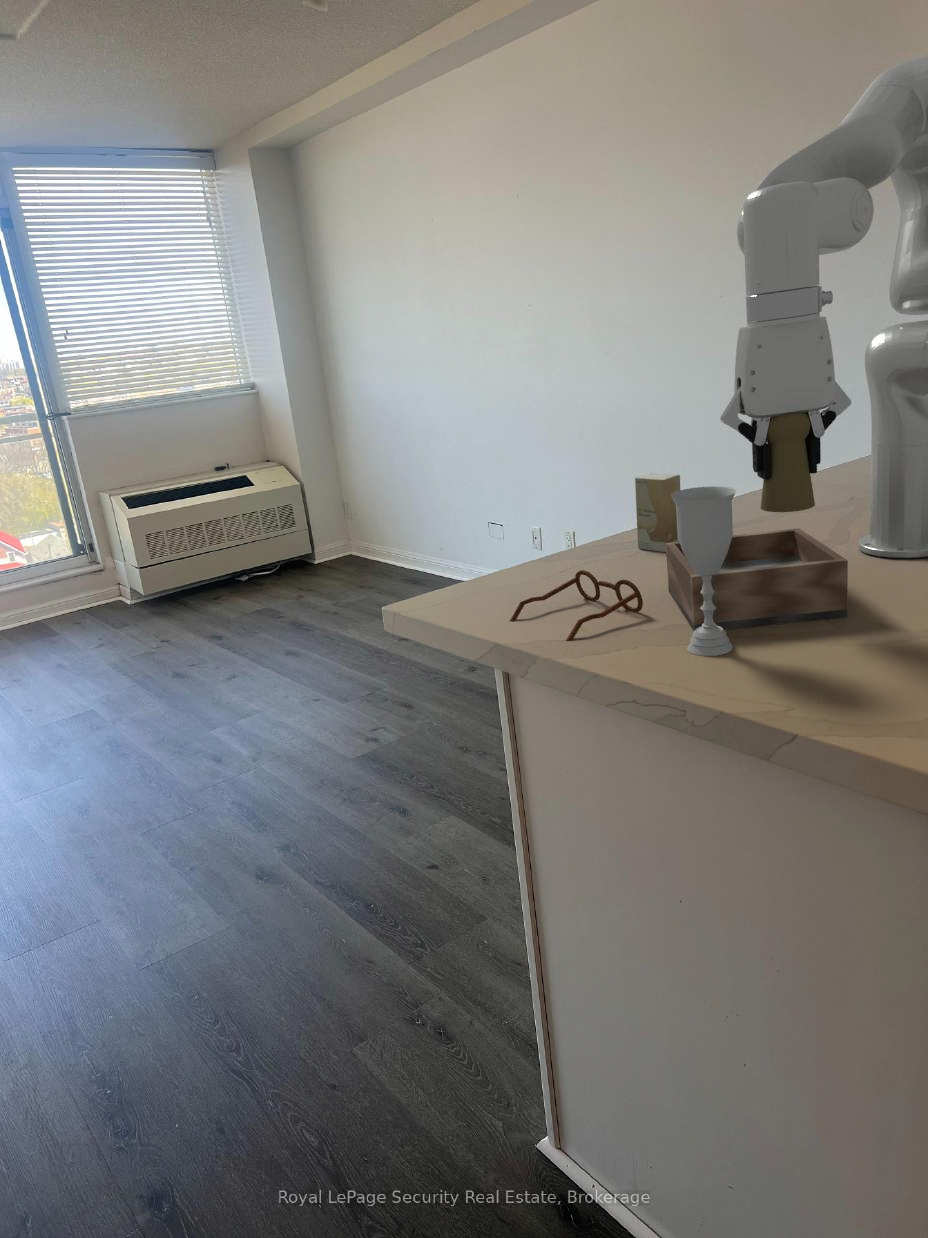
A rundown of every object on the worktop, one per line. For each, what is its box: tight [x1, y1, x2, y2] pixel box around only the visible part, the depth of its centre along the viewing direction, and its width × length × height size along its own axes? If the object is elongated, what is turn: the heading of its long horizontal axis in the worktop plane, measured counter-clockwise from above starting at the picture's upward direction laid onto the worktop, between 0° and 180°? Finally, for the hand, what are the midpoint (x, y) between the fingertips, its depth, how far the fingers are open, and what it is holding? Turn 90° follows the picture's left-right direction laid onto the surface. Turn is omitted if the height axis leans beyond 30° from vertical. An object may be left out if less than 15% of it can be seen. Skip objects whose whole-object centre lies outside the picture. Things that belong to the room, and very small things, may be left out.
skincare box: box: [634, 472, 681, 553], centre depth 145 cm, size 6×4×12 cm
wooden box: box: [665, 527, 849, 632], centre depth 113 cm, size 18×18×7 cm
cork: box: [760, 412, 816, 513], centre depth 101 cm, size 6×6×11 cm
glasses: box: [509, 569, 644, 642], centre depth 117 cm, size 13×13×5 cm
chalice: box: [671, 486, 737, 657], centre depth 98 cm, size 7×7×18 cm
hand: (786, 472), depth 101 cm, fingers closed on cork, 4 cm apart
